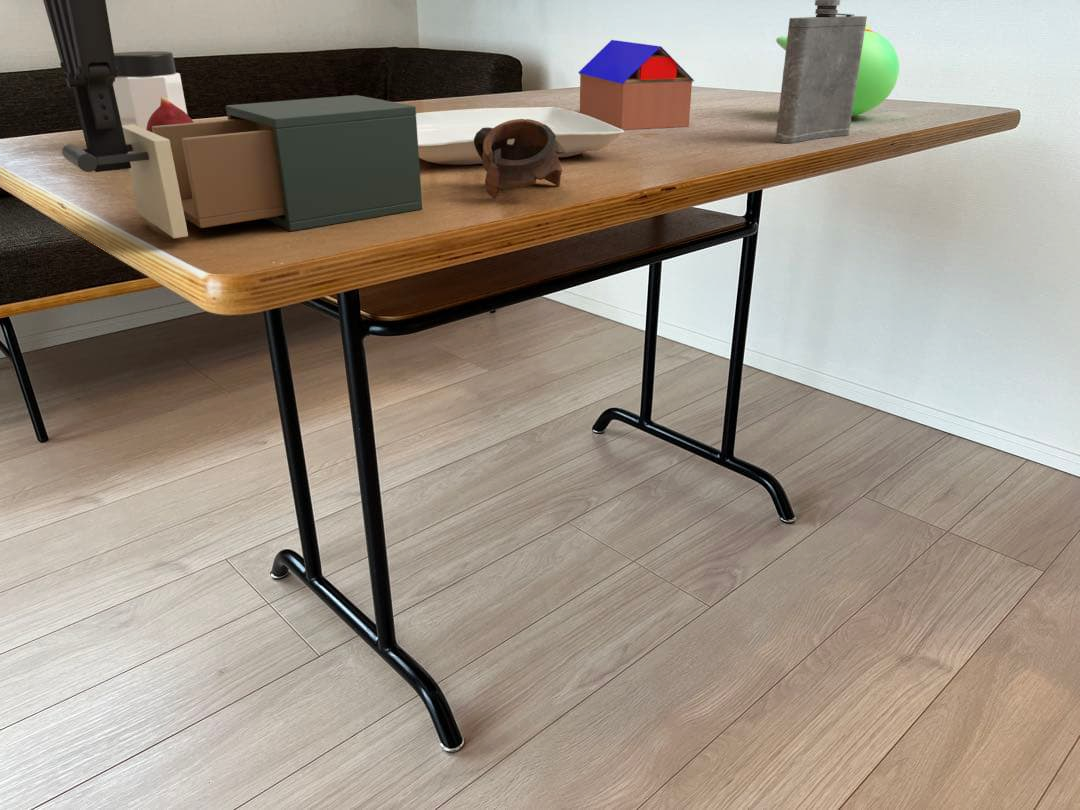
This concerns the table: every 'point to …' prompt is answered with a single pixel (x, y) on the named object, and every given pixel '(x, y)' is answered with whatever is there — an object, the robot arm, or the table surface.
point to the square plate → (454, 133)
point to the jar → (145, 85)
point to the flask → (820, 74)
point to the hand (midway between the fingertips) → (111, 168)
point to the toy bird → (871, 71)
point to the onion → (167, 115)
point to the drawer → (197, 172)
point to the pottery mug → (518, 155)
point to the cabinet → (341, 157)
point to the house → (635, 87)
